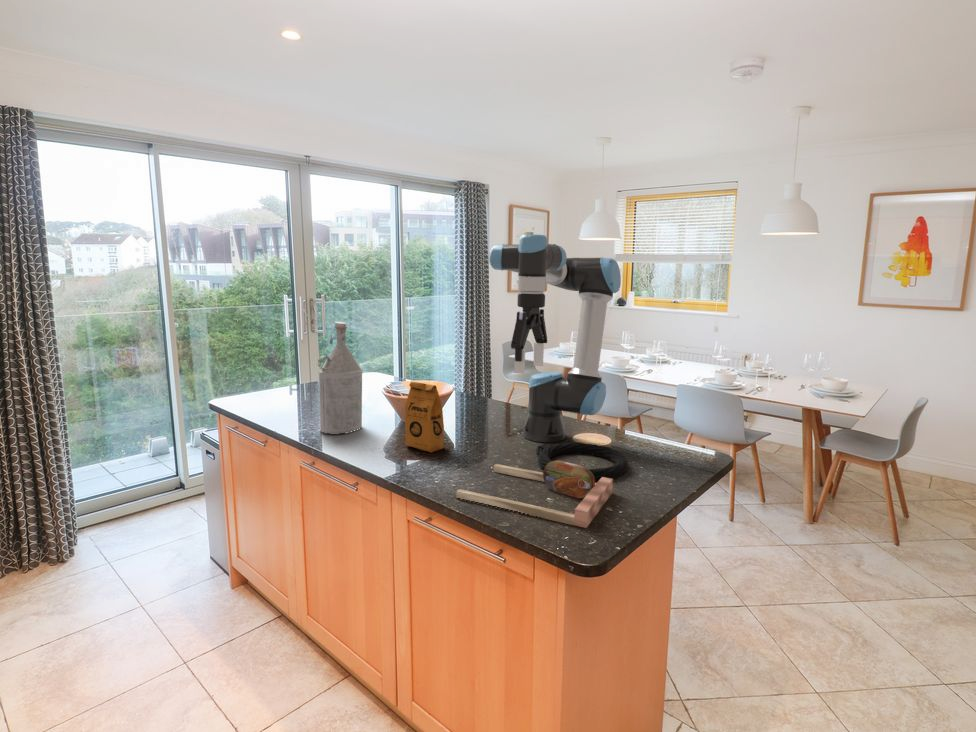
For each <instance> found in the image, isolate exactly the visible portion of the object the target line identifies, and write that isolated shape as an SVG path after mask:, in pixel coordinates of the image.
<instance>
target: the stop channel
mask: <svg viewBox="0 0 976 732" xmlns="http://www.w3.org/2000/svg"><path fill="white" fill-rule="evenodd" d="M493 473H499V474H502V475H509V476H512V477H519V478H522V479H527V480H533V481H538V482H543V483H545V481H544V478H543V472H541V471H537V470H531V469H525V468H520V467H516V466H510V465H504V464H499V463H496V464H494V465H493ZM613 484H614V478H612V479H611V478H606V477H602V478H601V479H600V480H599V481H596V482H595V486H594V487H593V488H592V489H591V491H590V492H589V493H588V494H587V495H586V497H585V498H582V500H581V501H580V502H579V503H578V505H577V506H576V507H575V508H574V513H571V512H566V511H562V510H558V509H557V510H556V509H552V508H547V507H543V506H540V505H539V506H537V505H534V504H529V503H525V502H521V501H516V500H512V499H508V498H507V499H506V498H504V497H502V498H501V497H497V496H493V495H489V494H485V493H479V492H475V491H470V490H467V489H462V488H459V489H457V490H456V497H457V498H461V499H460V500H462V499H466V500H470V501H469V502H471V501H475V502H479V503H484V504H489V505H492V506H497V507H501V508H505V509H509V510H508V511H510V510H513V511H512V512H514V511H518V512H521V513H520V514H523V513H525V514H524V515H527V514H529V515H528V516H532V517H536V516H537V518H540V517H541V519H545V520H550V521H553V522H557V523H563V524H567V525H571V526H577V527H580V528H584V529H587V528H588V527H589V525H590V524H591V523H592V521H593V520H594V519H595V517H596V515H598V513H599V511H601V509H602V508H603V506H604V505H605V503H606V502H607V501H608V499H609V498H610V497H611V496H612V494H613V487H614V486H613ZM457 498H456V499H457ZM466 500H465V501H466ZM475 502H474V503H475ZM479 503H478V504H479ZM484 504H483V505H484ZM492 506H491V507H492ZM497 507H496V508H497ZM501 508H500V509H501ZM505 509H504V510H505ZM518 512H517V513H518Z"/></svg>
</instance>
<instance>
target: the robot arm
mask: <svg viewBox="0 0 976 732" xmlns="http://www.w3.org/2000/svg"><path fill="white" fill-rule="evenodd" d="M567 256H568V255H567V252H566V250H565V248H564V247H562V246H560V245H558V244H556V243H548V238H547V236H546V235H544V234H522V235H520V237H519V243H518V244H508V243H507V244H505V243H503V244H502V243H501V244H495V245H492V248H491V249H490V251H489V258H488V260H489V265H490V266H491V268H492V269H494V270H496V271H502V272H503V271H509V272H510V271H511V272H513V273H518V275H517V276H518V278H517V281H516V283H517V291H518V292H519V293H518V294H517V304H516V305H517V307H519V308H522V311H517V312H516V319H515V324H514V330H513V334H512V338H511V342H510V348H511V350H513V349H514V365H513V366H514V368H513V372H514V374H523V375H524V374H525V372H526V371H525V369H526V368H525V367H526V366H525V365H526V349H525V346H526V342H527V339H528V337H529V333H530V330H531V332H532V334H533V338H534V340H535V342H534V343H533V366H537V367H543V366H544V352H545V351H544V350H545V348H544V347H545V344H547V343H548V334H547V328H546V321H545V309H543V308H545V306H546V295H545V293H544V292H546V288H547V286H546V285H547V284H548V285H549V286H553V287H557V288H560V289H563V290H567V291H572V292H574V291H575V292H578V297H579V298H580V299H581V305H580V307H581V308H580V315H579V320H578V321H579V322H578V327H577V328H578V329H577V337H576V343H575V350H574V351H575V352H574V358H573V367H572V369H570V370H569V371H568V372H567V377H564V374H563V372H560V371H547V372H541V373H536V374H532V375H531V376H530V378H529V384H528V385H529V386H528V414H527V418H526V420H525V423H524V426H523V429H522V437H524V439H527V440H528V441H534V442H539V443H555V442H560V441H563V440H564V439H566V430H565V429H566V428H565V425H564V422H563V419H562V412H566V413H571V414H578V415H582V416H594V415H597V414H598V413H600V411H601V410H602V407H603V405H604V404H605V399H606V394H607V387H606V383H605V382H603V381H602V378H603V377H602V376H601V374H600V373H599V367H600V360H601V353H602V344H603V339H604V338H603V337H604V330H605V321H606V315H607V307H608V303H609V302H610V301H612V300H613V299H614V294H616V293H618V292H619V291H620V288H621V282H622V276H621V275H622V274H621V269H620V266H619V263H618V262H617V260H616V259H614V258H612V257H602V256H601V257H567Z"/></svg>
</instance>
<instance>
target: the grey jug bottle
mask: <svg viewBox="0 0 976 732" xmlns="http://www.w3.org/2000/svg"><path fill="white" fill-rule="evenodd" d="M347 325H348V324H347V323H346V322H345V321H335V322H334V328H333V332H331V333H330V334H331V335H330V339H329V341H328V342H329V344H330V345H333V342H334V341H333V340H335V339H336V344H335V346H334V347H333V349H332V351H331V352H330V354H329V355H327V356H326V355H321V356H320V357H319V358H318V360H317V366H318V367H319V368H320V369H319V371H318V375H319V376H318V379H319V380H318V385H319V388H318V389H319V423H320V425H319V426H320V430H319V431H320V432H321V433H323V432H324V433H323V434H327V433H331V434H330V435H340V434H339V433H345V434H347V433H346V432H350V433H352V432H351V431H354V430H357V429H359V428H361V429H362V427H363V423H362V422H363V421H362V420H363V417H362V416H363V369H362V368H361V366H360V365H359V363H358V362H357V360H356V359H355V357H354V356H353V354H352V352H351V351H350V350H349V348H348V346H347V344H346V340H347V337H346V334H347V333H346V332H347V329H348V327H347ZM334 330H336V333H335V331H334ZM333 334H334V335H335V337H333ZM323 358H326V360H325V361H324V363H323V364H322V360H323ZM359 430H360V429H359ZM357 431H358V430H357ZM354 432H355V431H354Z"/></svg>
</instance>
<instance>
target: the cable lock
mask: <svg viewBox="0 0 976 732" xmlns="http://www.w3.org/2000/svg"><path fill="white" fill-rule="evenodd" d="M535 453H536V455H537V463H538V464H539V466H540V468H541V469H542V470H544V468H545V466H546V465H547V464H548V463H549V462H552V460H551V459H552V458H553V457H555V456H560V455H567V454H568V455H569V454H578V453H580V454H579V455H581V454H583V455H590V454H593V455H592V456H595V455H596V457H602V458H603V457H604V458H603V459H606V460H608V461H611V462H612V463H614V465H611V466H608V467H600V468H588V469H589V470H590V471H591V472H592V474H593V475H594V478H595V482H598V481H599V480H600V479H601V478H602V477H606V478H611V479H615V478H619V477H620V476H622V475H623V474H625V473H626V472H627V470H628V469H629V468H628V467H629V462H628V461H629V460H628V459H627V458H626V456H625V455H624V454H622V453H620V452H619V451H618V450H615V449H613V448H610V447H608V446H603V445H599V444H592V443H584V442H566V443H565V442H563V443H558V444H557V443H556V444H546V443H543V444H542V443H538V444H537V446H536V449H535Z"/></svg>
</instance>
